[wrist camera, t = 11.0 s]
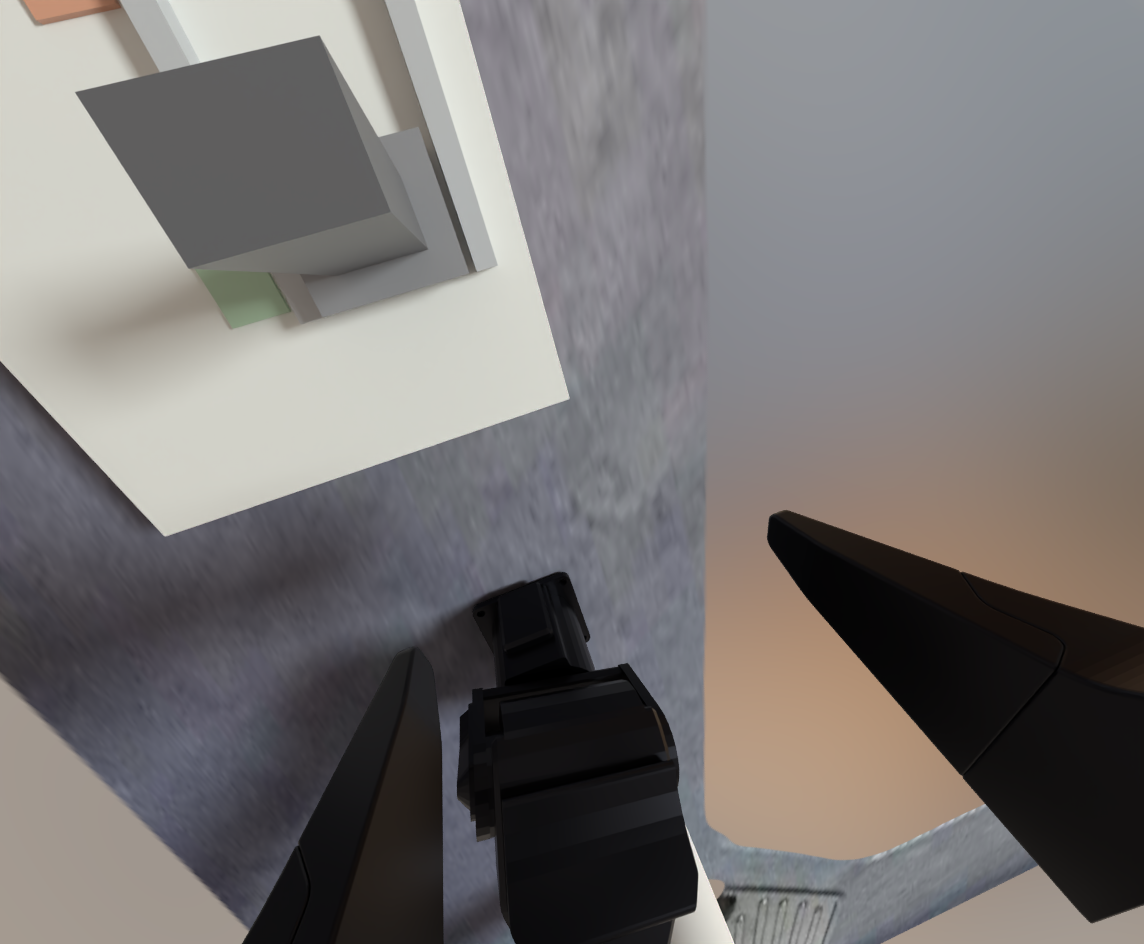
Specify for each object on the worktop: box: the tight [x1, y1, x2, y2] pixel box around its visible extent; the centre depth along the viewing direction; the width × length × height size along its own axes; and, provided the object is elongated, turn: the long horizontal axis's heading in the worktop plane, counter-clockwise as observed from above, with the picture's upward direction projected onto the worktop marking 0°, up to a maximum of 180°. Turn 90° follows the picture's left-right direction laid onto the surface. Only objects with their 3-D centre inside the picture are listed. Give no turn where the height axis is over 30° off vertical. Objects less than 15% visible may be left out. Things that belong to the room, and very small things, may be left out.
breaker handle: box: [75, 35, 469, 317], centre depth 10 cm, size 4×5×10 cm
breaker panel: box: [0, 0, 570, 536], centre depth 14 cm, size 18×18×4 cm
